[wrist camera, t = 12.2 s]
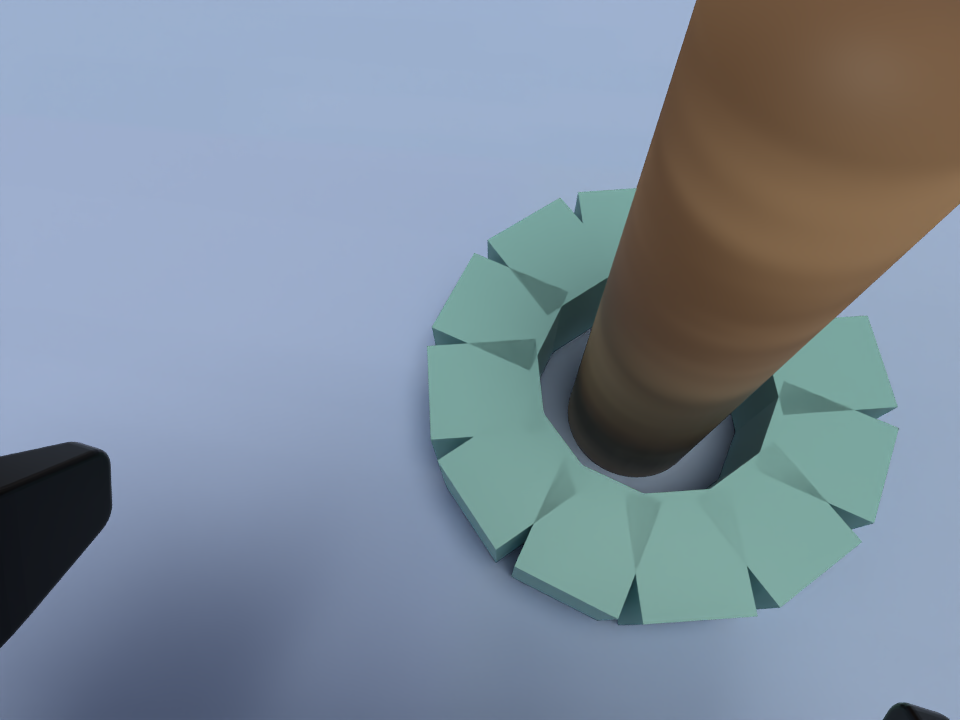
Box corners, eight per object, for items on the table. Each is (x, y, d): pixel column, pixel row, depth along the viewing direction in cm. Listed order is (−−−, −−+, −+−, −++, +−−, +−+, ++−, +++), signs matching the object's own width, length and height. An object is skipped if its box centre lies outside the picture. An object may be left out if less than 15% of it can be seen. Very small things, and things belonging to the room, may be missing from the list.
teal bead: (873, 331, 19) (936, 281, 16) (764, 705, 16) (822, 722, 13) (535, 200, 21) (541, 136, 18) (368, 503, 18) (344, 479, 15)
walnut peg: (722, 425, 18) (1160, 34, 6) (626, 503, 17) (913, 229, 5) (635, 333, 19) (863, -147, 7) (542, 403, 19) (626, -8, 7)
